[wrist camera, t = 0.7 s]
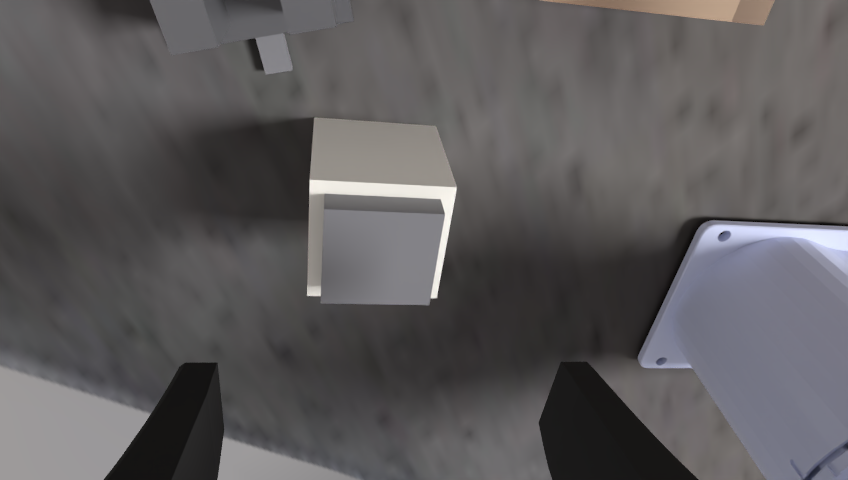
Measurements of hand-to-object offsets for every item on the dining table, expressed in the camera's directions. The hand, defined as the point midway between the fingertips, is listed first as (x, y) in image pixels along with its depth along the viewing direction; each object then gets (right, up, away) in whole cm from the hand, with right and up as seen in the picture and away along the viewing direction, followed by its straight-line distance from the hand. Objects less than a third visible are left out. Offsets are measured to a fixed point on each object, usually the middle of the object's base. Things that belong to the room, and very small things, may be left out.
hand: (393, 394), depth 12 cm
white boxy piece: (-1, +6, +8) cm, 10 cm away
